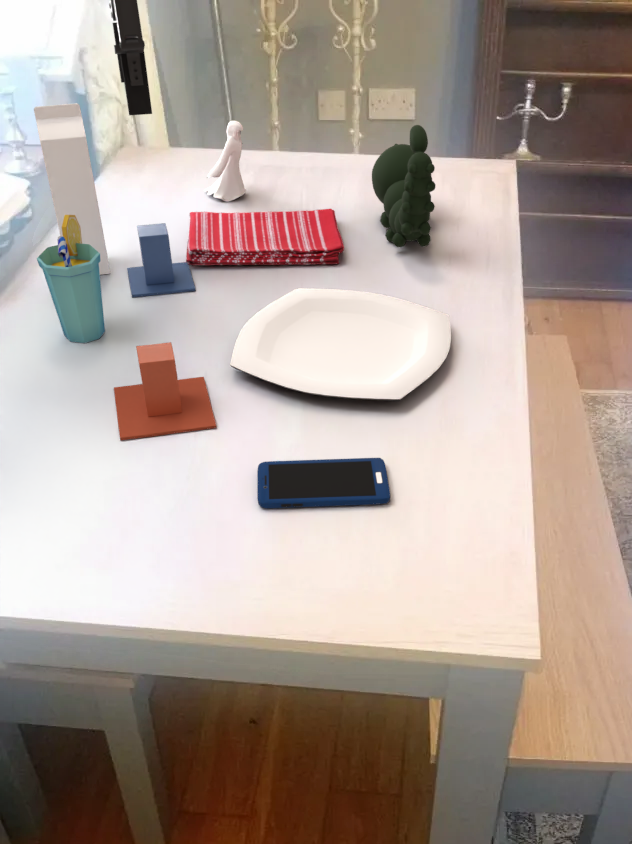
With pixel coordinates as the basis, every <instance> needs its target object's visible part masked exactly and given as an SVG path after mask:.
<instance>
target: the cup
mask: <svg viewBox="0 0 632 844" xmlns="http://www.w3.org/2000/svg"><path fill="white" fill-rule="evenodd" d="M62 234H63V236H60V235H59V236H57V244H56V245H52V246H48V247H46V248H45V249H44V250H43V251H42V252H41V253H40V254H39V255H38V256H37V257H36V261H37V264H38V266H39V268H40V269H41V270H42V272H43V275H44V279H45V281H46V285H47V287H48V290H49V293H50V294H49V295H50V296H51V299H52V302H53V303H52V304H53V306H54V309H55V312H56V315H57V318H58V321H59V323H60V328H61V330H62V333H63V336H64V337H65V338H66V339H67V340H68V341H69V342H71V343H78V344H79V343H80V344H87V343H90V342H93V341H97V340H100V339H101V338H102V336H103V335H104V334H105V332H106V328H105V326H106V325H105V316H104V306H103V296H102V295H103V294H102V286H101V275H100V272H99V262H100V253H99V252H98V251H97V250H95V249H94V248H93V247H92V246H91V245H89V244H82V238H81V229H80V225H79V223H78V221H77V218H76V216H75V215H65V216H64V220H63V224H62Z"/></svg>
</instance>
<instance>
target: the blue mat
mask: <svg viewBox="0 0 632 844" xmlns="http://www.w3.org/2000/svg"><path fill="white" fill-rule="evenodd" d="M172 266H173V274H174V283H164V284H154V285H146V280H145V275H144V269H143V265H141V266H131V267H127V268H126V270H127V277H128V281H129V288H130V289H129V290H130V293H131V298H141V297H151V296H161V295H171V294H180V293H181V294H182V293H190V292H196V290H197V289H196V286H195V282H194V279H193V275H192V272H191V268H190V265H188V264H187V263H186V261H183V262H182V261H181V262H172Z"/></svg>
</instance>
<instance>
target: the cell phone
mask: <svg viewBox="0 0 632 844" xmlns="http://www.w3.org/2000/svg"><path fill="white" fill-rule="evenodd" d="M256 476H257V477H256V478H257V479H256V480H257V484H256V485H257V489H256V490H257V491H256V493H257V497H256V499H257V504H258V505H259V507H260V508H264V509H286V508H289V509H290V508H314V507H340V506H343V507H344V506H365V505H368V506H369V505H370V506H371V505H384V504H388V503H389V502H390V500H391V491H390V489H391V488H390V484H389V478H388V472H387V467H386V463H385V461H384V459H382V458H381V457H359V458H358V457H357V458H356V457H354V458H329V459H328V458H327V459H298V460H297V459H296V460H271V461H262V462H260V463H259V464H258V465H257V475H256Z"/></svg>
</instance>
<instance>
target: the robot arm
mask: <svg viewBox="0 0 632 844" xmlns="http://www.w3.org/2000/svg"><path fill="white" fill-rule="evenodd" d="M138 5H139V4H138V0H109V3H108V7H109V10H110V17H111V19H112V30H113V36H114V37H113V38H114V42H115V44H113V49H114V54H115V55H116V56H117V63H118V69H119V70H118V71H119V76H120V82H121V83H124V89H125V90H124V91H125V96H126V103H127V110H128V116H141V115H152V114H153V109H152V108H153V107H152V102H151V94H150V87H149V77H148V71H147V63H146V55H145V47H146V44H145V41H144V39H143V32H142V24H141V18H140V11H139V6H138Z"/></svg>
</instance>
